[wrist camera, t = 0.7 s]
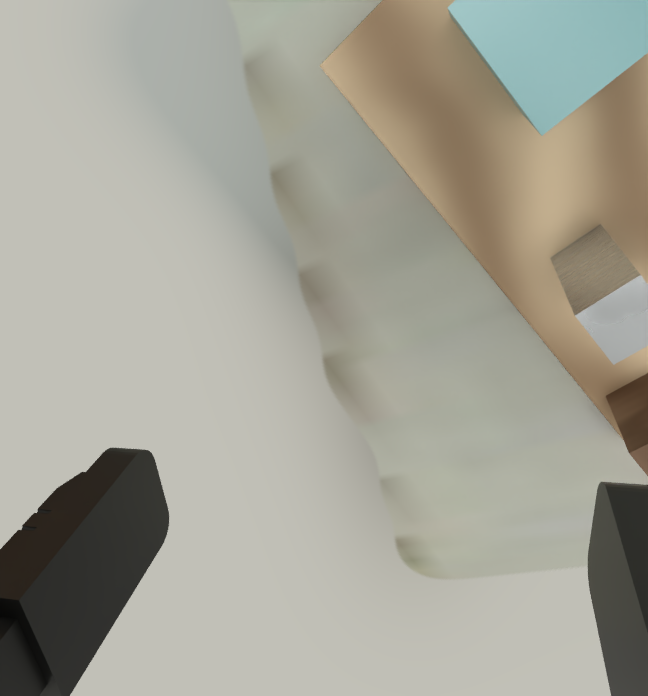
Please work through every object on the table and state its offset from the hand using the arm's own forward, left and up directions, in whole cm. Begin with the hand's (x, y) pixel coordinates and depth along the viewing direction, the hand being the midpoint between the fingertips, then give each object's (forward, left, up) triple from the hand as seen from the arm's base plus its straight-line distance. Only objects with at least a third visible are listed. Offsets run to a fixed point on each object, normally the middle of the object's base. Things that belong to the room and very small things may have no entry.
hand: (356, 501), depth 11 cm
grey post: (-5, +7, -21) cm, 23 cm away
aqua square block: (-9, -3, -21) cm, 23 cm away
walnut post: (-3, +15, -21) cm, 26 cm away
